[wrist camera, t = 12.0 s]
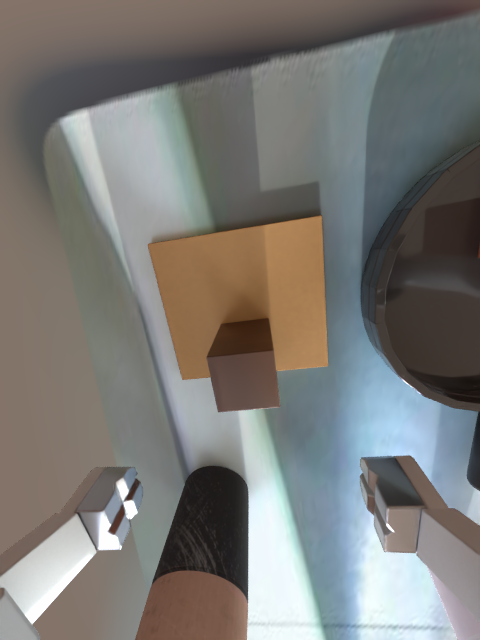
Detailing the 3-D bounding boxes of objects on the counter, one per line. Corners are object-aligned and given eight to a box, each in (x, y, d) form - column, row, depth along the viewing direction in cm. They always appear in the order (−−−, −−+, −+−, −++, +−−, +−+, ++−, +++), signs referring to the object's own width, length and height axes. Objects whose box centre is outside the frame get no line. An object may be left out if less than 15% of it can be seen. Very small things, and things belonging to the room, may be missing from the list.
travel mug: (175, 501, 28) (-2, 1070, 9) (193, 454, 25) (-5, 1108, 6) (238, 520, 28) (197, 1111, 9) (261, 476, 25) (270, 1162, 7)
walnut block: (268, 317, 19) (273, 349, 14) (274, 361, 20) (280, 407, 15) (220, 323, 20) (206, 356, 14) (228, 366, 21) (217, 412, 15)
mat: (320, 215, 17) (322, 215, 17) (326, 363, 21) (328, 366, 20) (150, 243, 19) (147, 243, 18) (183, 377, 22) (182, 380, 22)
